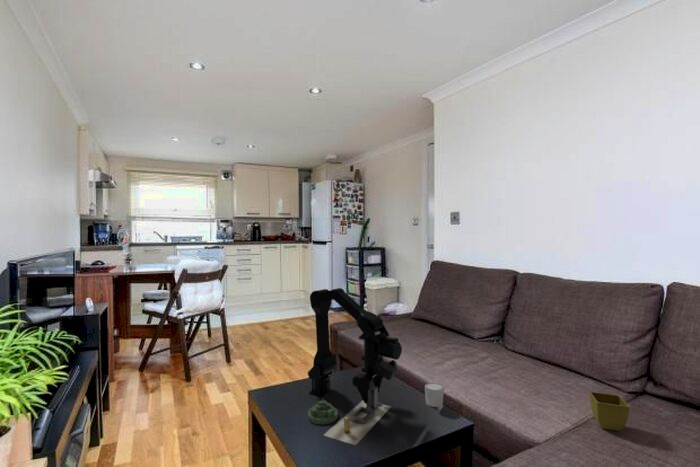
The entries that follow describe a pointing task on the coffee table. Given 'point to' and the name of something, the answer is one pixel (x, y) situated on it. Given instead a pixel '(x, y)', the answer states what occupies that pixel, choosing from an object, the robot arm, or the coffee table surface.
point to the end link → (367, 407)
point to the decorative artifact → (322, 413)
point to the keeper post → (347, 425)
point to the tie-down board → (356, 425)
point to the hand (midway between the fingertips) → (371, 398)
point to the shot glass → (434, 395)
